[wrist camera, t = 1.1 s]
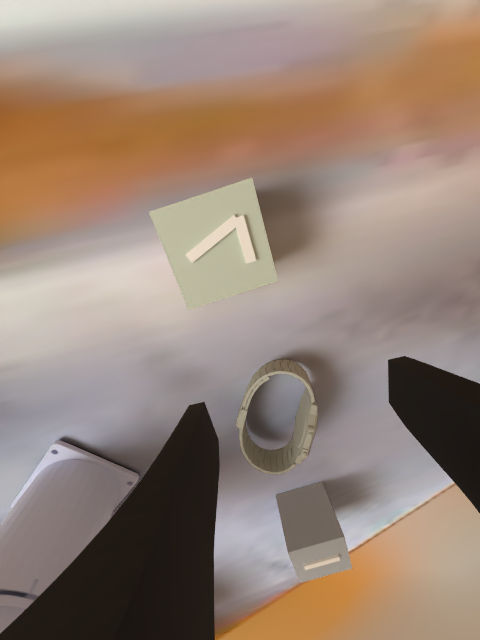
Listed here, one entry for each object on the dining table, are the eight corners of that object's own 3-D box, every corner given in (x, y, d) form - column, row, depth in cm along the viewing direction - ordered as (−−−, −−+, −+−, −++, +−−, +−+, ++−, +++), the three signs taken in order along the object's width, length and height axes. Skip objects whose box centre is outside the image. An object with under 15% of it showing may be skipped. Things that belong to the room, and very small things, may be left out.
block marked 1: (286, 522, 28) (300, 585, 23) (275, 494, 26) (288, 555, 21) (329, 510, 27) (353, 571, 23) (321, 480, 26) (345, 539, 21)
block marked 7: (196, 289, 18) (188, 311, 13) (169, 217, 16) (147, 211, 11) (262, 267, 18) (279, 281, 13) (242, 193, 16) (252, 176, 11)
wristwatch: (291, 443, 24) (308, 496, 19) (226, 437, 23) (228, 490, 18) (319, 360, 21) (348, 397, 16) (246, 349, 20) (254, 386, 15)
